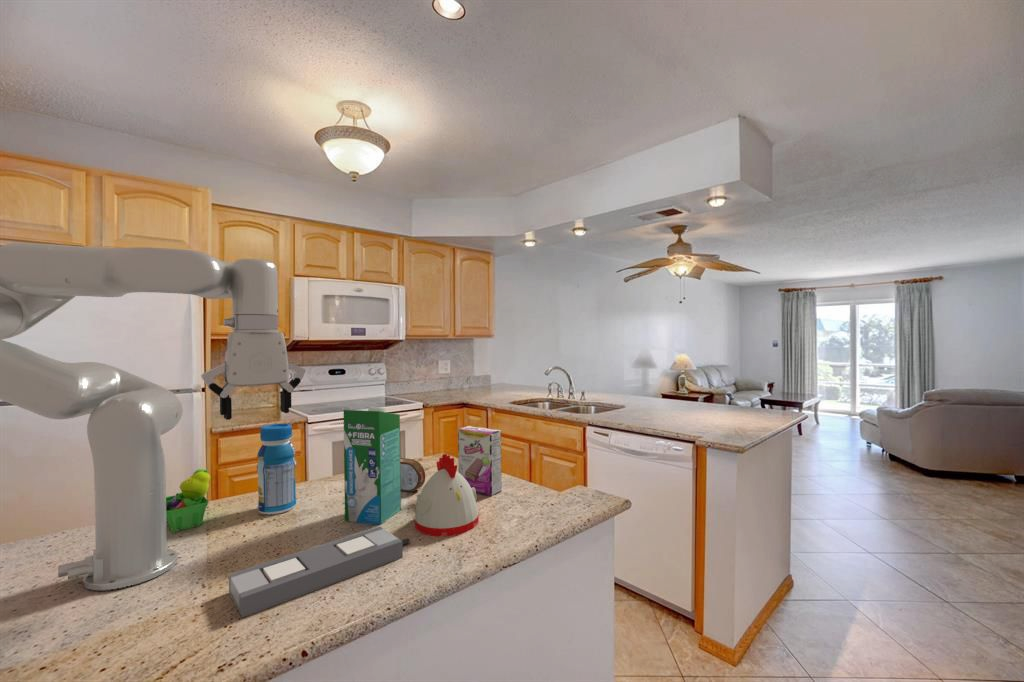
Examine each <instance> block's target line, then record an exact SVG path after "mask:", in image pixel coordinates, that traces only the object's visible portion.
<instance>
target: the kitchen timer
mask: <svg viewBox="0 0 1024 682" xmlns="http://www.w3.org/2000/svg"><path fill="white" fill-rule="evenodd" d="M436 467H437V471H436V472H435V473H434V474H432V475H431V476H430V477H429V479H428V480H427V481H426V483H424V485H423V488H422V489H421V492H420V494H419V493H418V494H416V502H415V503H416V504H415V505H416V507H415V513H414V528H415V529H416V530H417V531H418V532H419V533H421V534H423V535H427V536H432V537H450V536H457V535H460V534H463V533H464V534H465V533H468V532H469V531H471V530H473V529H475V528H476V526H477V525H478V524H479V520H480V519H479V508H478V504H477V502H476V501H477V499H478V494H477V493H476V490H475V488H474V487H472V488H471V487H470V485H469V483H468V482H467V481H466V479H465V478H464V477H463V476H462V475H461V474H460V473H459V471H457V470H458V464H455V457H451V455H448V453H443V454H442V456H441V457H439V458H438V460H437V461H436Z"/></svg>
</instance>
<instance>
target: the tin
mask: <svg viewBox="0 0 1024 682" xmlns="http://www.w3.org/2000/svg"><path fill="white" fill-rule="evenodd" d="M400 476H401V492H408V493H413V492H415V491H417V490H418V489H421V488H422V487H424V485H425V482H426V470H425V469H424V467H423V465H422V464H421V463H420V462H419V461H418V460H416V459H412V458H405V457H400Z"/></svg>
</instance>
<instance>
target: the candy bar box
mask: <svg viewBox="0 0 1024 682" xmlns="http://www.w3.org/2000/svg"><path fill="white" fill-rule="evenodd" d="M457 437H458V438H457V441H458V443H457V449H458V450H457V453H458V454H457V455H458V456H457V457H458V458H457V459H458V463H457V466H458V473H460V474H461V475H462V476H463V477H464V478H465V479H466V481H467V482H468V483H469V485H470V487H471V488H472V487H474V488H475V490H476V492H477V493H476V494H480V495H481V494H482V495H485V496H491V497H492V496H493V497H494V496H495V495H496V493H497V494H499V493H500V492H502V430H500V429H495V428H487V427H478V426H473V425H467V426H464V427H459V428H458V429H457Z"/></svg>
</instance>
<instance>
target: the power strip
mask: <svg viewBox="0 0 1024 682" xmlns="http://www.w3.org/2000/svg"><path fill="white" fill-rule="evenodd" d="M362 536H363V537H365V538H366V539H367V540H369V541H370V542H371V543H373V544H374V545H375V547H373V548H370V549H367V550H364V551H361V552H358V553H355V554H352V555H349V556H347V557H346V556H344V555H343V554H342V553H341V552H340V551H339V550H338V549H337V547H336V545H337V544H340V543H343V542H346V541H349V540H352V539H355V538H359V537H362ZM410 541H411V539H410V538H409V537H405V538H403V539H400V538H398V537H397V536H395V535H394V534H392V532H389V531H388V530H386V529H384V527H382V526H378V527H375V528H371V529H368V530H364V531H362V532H359V533H355V534H352V535H349V536H345V537H343V538H340V539H336V540H333V541H330V542H326V543H323V544H320V545H317V546H314V547H310V548H307V549H304V550H302V551H297V552H295V553H292V554H288V555H285V556H282V557H280V558H276V559H272V560H270V561H267V562H263V563H260V564H257V565H254V566H250V567H247V568H244V569H241V570H238V571H233V572H232V573H229V574H228V594H229V595H230V598H231V600H232V601H233V604H234V605H235V608H236V607H237V608H236V609H238V610H237V612H238V611H239V612H238V613H240V614H239V616H240V615H241V616H240V618H241V617H244V618H246V617H245V616H247V617H249V616H251V615H254V613H255V614H258V613H259V612H263V611H264V610H267V609H271V608H273V607H275V606H278V605H280V604H283V603H284V604H285V603H286V602H288V601H292V600H293V599H296V598H299V597H302V596H304V595H307V594H309V593H312V592H315V591H317V590H321V589H323V588H325V587H328V586H331V585H333V584H336V583H339V582H342V581H344V580H347V579H349V578H352V577H354V576H357V575H359V574H362V573H365V572H368V571H371V570H374V569H376V568H378V567H381V566H383V565H386V564H389V563H391V562H394V561H397V560H399V559H402V558H403V556H404V555H403V546H404V545H407V544H409V543H410ZM293 558H296V559H297V560H298V561H299V562H300V563H301V564H302V565H303V567H304V568H305V571H303V572H300V573H297V574H294V575H292V576H289V577H286V578H283V579H280V580H277V581H274V582H271V583H269V582H268V581H267V580H266V578H265V577H264V575H263V568H265V567H268V566H272V565H275V564H278V563H281V562H284V561H287V560H290V559H293ZM248 615H249V616H248Z"/></svg>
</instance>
